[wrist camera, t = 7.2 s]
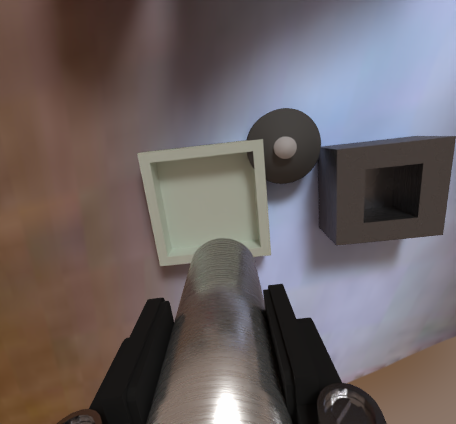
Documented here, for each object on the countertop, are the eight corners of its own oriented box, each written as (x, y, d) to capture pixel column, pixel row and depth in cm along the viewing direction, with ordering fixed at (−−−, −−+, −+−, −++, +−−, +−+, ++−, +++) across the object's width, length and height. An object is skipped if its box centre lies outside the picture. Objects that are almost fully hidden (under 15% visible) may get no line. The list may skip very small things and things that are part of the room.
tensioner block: (415, 136, 27) (455, 136, 22) (407, 218, 29) (442, 234, 25) (317, 147, 27) (337, 149, 22) (319, 227, 30) (336, 245, 25)
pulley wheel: (312, 106, 26) (323, 102, 23) (313, 176, 28) (324, 180, 25) (243, 114, 26) (244, 112, 23) (248, 183, 28) (251, 188, 25)
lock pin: (252, 234, 14) (338, 551, 3) (258, 293, 15) (338, 680, 4) (185, 242, 14) (59, 574, 3) (195, 299, 15) (123, 695, 4)
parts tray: (259, 138, 27) (262, 139, 24) (267, 245, 30) (271, 255, 28) (145, 151, 27) (137, 153, 25) (165, 255, 31) (160, 266, 28)
